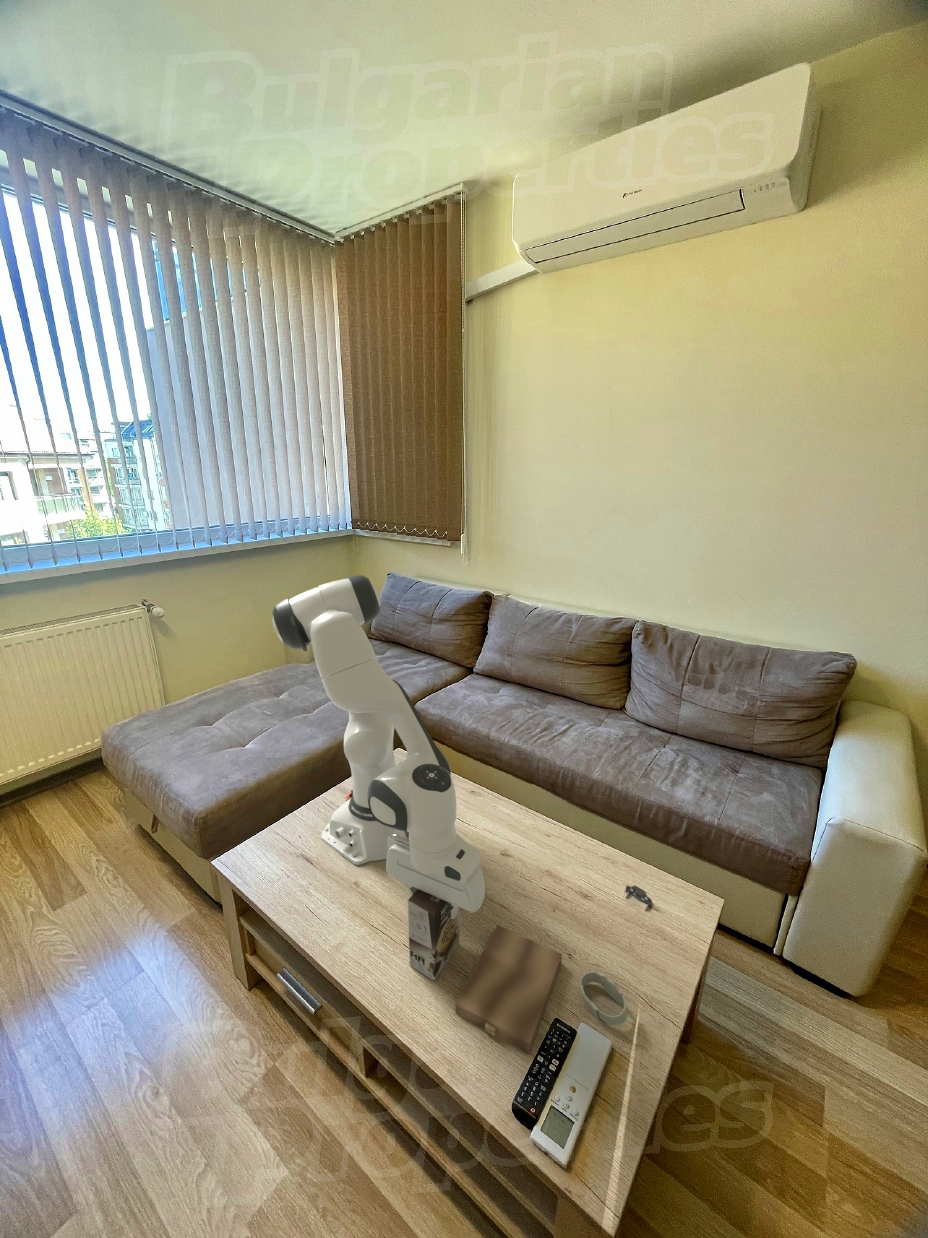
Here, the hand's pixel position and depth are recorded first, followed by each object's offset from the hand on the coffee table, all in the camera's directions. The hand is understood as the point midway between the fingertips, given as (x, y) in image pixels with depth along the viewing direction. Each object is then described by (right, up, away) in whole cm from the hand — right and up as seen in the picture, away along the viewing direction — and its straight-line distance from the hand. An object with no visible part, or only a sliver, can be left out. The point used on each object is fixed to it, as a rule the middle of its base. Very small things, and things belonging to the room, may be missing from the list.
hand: (434, 907), depth 96 cm
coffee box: (0, -12, +3) cm, 12 cm away
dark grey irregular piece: (+48, -10, +13) cm, 51 cm away
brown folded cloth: (+15, -14, -3) cm, 20 cm away
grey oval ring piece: (+31, -15, -6) cm, 35 cm away
